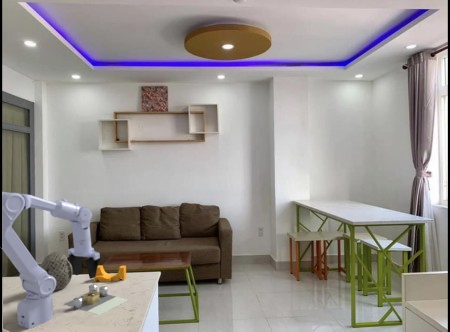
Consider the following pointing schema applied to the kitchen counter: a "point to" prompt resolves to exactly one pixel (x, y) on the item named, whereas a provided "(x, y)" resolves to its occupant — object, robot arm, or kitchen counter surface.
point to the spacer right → (103, 291)
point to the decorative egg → (58, 269)
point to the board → (100, 304)
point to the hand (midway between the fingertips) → (85, 275)
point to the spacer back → (93, 288)
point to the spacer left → (77, 303)
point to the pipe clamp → (105, 277)
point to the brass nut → (91, 298)
